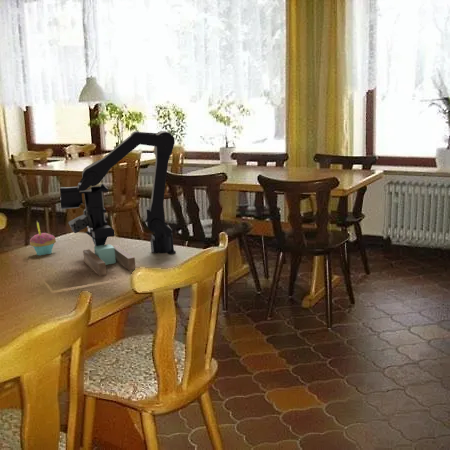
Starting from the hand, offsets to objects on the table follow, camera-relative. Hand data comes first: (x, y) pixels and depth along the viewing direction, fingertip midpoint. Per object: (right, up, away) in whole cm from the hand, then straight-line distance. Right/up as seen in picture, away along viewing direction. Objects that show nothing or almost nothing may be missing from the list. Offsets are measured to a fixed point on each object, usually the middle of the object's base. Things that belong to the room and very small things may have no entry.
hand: (99, 253), depth 208 cm
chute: (+5, -4, -9) cm, 11 cm away
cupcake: (-21, -1, +12) cm, 24 cm away
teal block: (+3, -2, -6) cm, 7 cm away
